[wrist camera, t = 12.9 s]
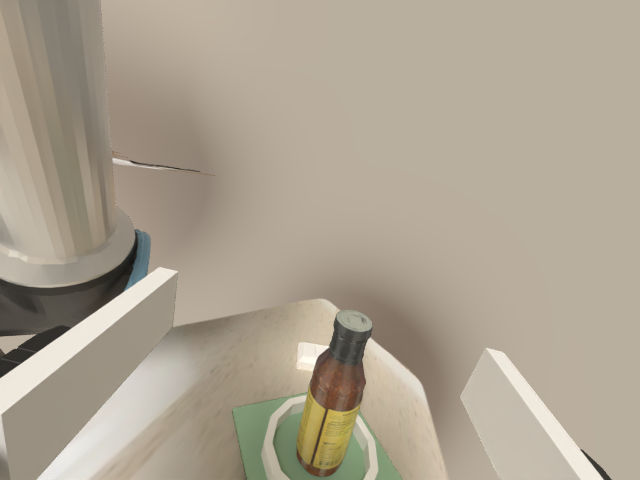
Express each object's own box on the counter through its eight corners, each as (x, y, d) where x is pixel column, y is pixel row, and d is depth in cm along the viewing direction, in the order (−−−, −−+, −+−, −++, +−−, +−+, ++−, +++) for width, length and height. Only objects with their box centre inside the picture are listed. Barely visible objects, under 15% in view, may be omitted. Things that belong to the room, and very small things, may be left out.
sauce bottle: (348, 447, 39) (394, 320, 33) (330, 492, 33) (382, 350, 27) (305, 420, 41) (341, 297, 35) (281, 459, 35) (320, 320, 29)
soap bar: (296, 350, 56) (299, 339, 55) (342, 359, 56) (346, 347, 56) (295, 369, 51) (298, 357, 50) (345, 378, 52) (349, 366, 51)
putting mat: (232, 411, 40) (234, 397, 40) (342, 387, 49) (346, 375, 48) (269, 589, 26) (275, 571, 25) (417, 509, 34) (425, 494, 33)
